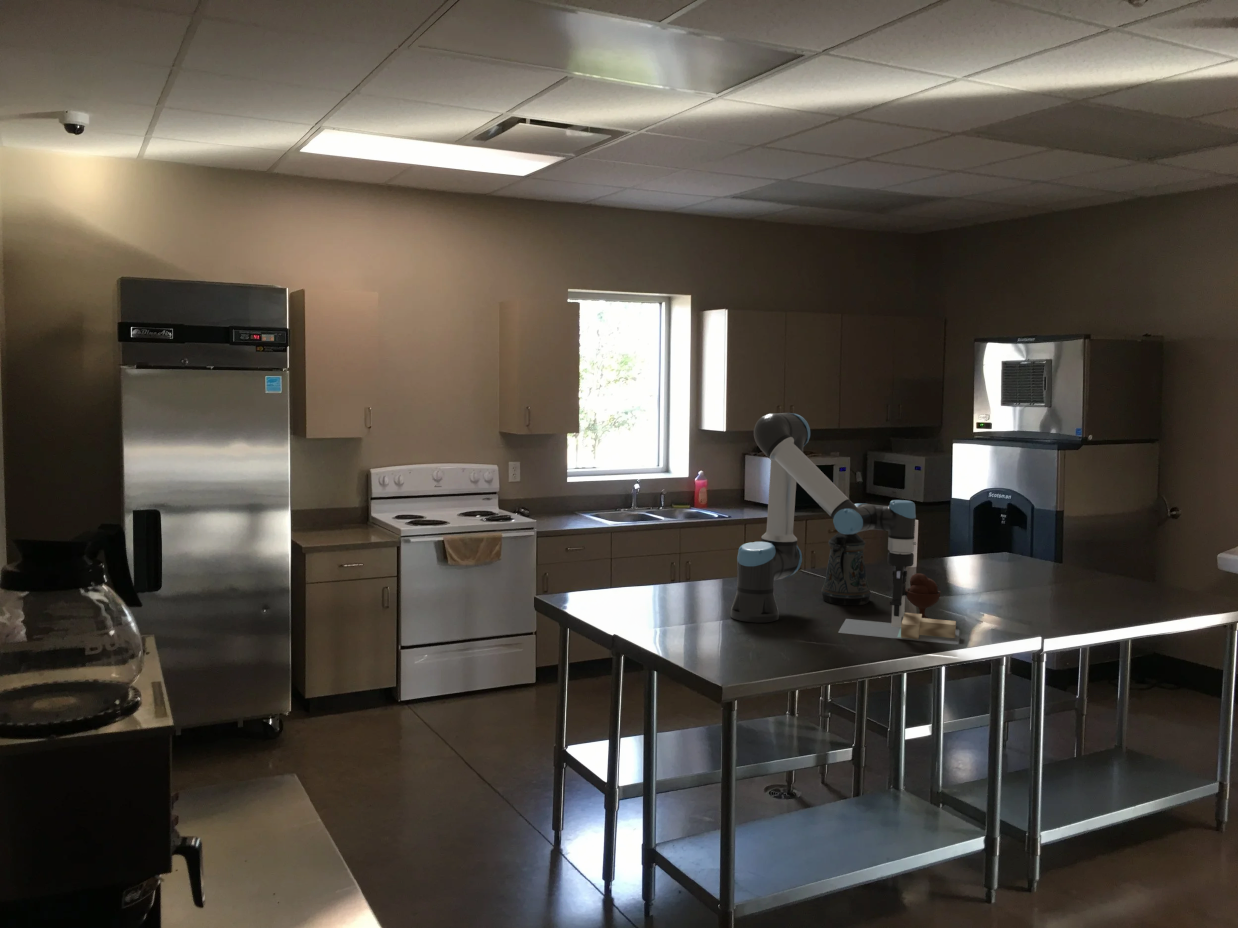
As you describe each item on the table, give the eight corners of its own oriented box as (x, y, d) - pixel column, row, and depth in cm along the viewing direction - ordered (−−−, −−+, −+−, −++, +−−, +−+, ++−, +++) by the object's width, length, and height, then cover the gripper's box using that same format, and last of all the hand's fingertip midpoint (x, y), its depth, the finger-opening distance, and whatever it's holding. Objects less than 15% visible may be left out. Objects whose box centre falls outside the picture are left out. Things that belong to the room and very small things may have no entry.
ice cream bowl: (916, 625, 310) (918, 577, 309) (897, 617, 321) (899, 571, 320) (946, 623, 313) (948, 576, 312) (926, 615, 324) (928, 569, 323)
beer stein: (866, 596, 352) (869, 525, 350) (874, 608, 333) (877, 534, 331) (818, 594, 354) (821, 524, 352) (824, 606, 335) (827, 532, 333)
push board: (837, 633, 298) (837, 632, 298) (845, 619, 316) (845, 618, 316) (958, 645, 286) (958, 644, 286) (959, 630, 304) (959, 629, 304)
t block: (900, 637, 293) (901, 623, 293) (904, 625, 308) (905, 612, 308) (954, 642, 288) (955, 629, 288) (955, 630, 303) (956, 617, 303)
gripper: (911, 559, 286) (908, 632, 288) (916, 546, 310) (913, 613, 311) (884, 557, 289) (881, 629, 291) (891, 544, 312) (888, 611, 314)
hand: (897, 621), depth 301 cm, fingers open, 13 cm apart
